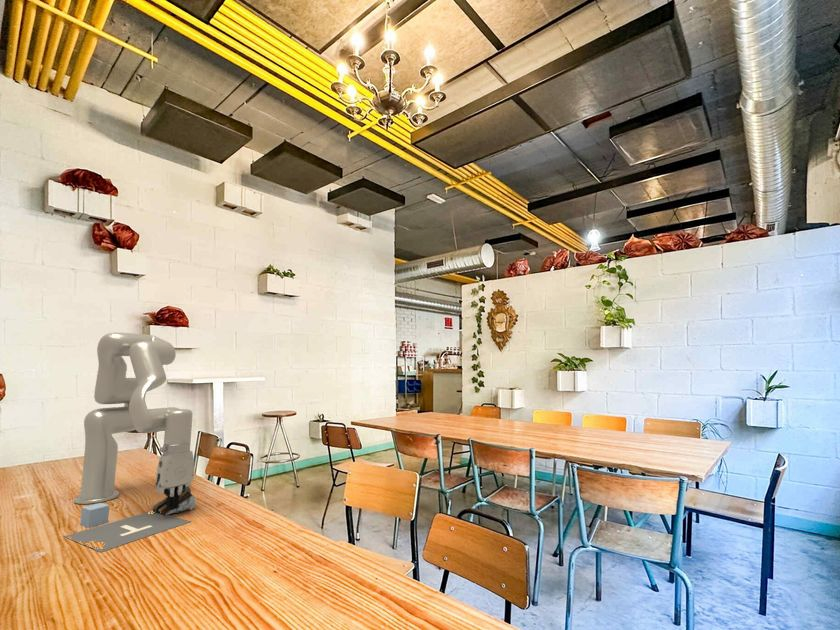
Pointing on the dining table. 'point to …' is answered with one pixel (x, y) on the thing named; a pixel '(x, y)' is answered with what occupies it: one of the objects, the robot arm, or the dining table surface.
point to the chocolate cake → (184, 503)
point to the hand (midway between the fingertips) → (172, 508)
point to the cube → (94, 515)
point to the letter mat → (127, 530)
